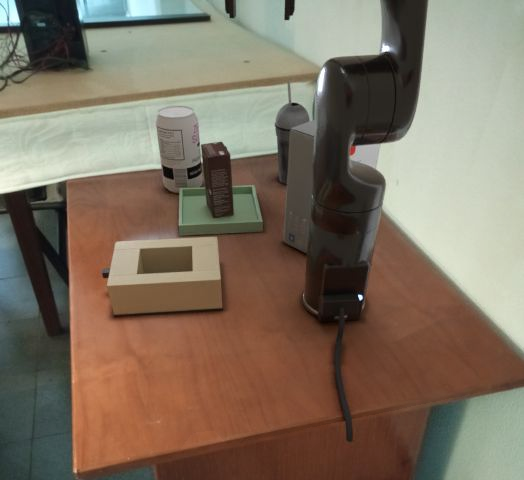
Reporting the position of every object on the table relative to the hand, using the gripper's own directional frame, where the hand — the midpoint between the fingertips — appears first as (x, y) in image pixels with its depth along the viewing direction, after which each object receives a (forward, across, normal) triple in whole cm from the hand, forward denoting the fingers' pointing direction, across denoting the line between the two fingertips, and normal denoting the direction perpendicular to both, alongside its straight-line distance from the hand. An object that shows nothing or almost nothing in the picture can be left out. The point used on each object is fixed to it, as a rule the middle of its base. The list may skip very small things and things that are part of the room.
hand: (260, 18), depth 77 cm
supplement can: (+32, -17, +8) cm, 37 cm away
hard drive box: (+32, +13, -8) cm, 36 cm away
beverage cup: (+32, +5, +14) cm, 35 cm away
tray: (+32, -7, -3) cm, 33 cm away
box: (+31, -7, -3) cm, 32 cm away
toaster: (+32, -10, -29) cm, 44 cm away
